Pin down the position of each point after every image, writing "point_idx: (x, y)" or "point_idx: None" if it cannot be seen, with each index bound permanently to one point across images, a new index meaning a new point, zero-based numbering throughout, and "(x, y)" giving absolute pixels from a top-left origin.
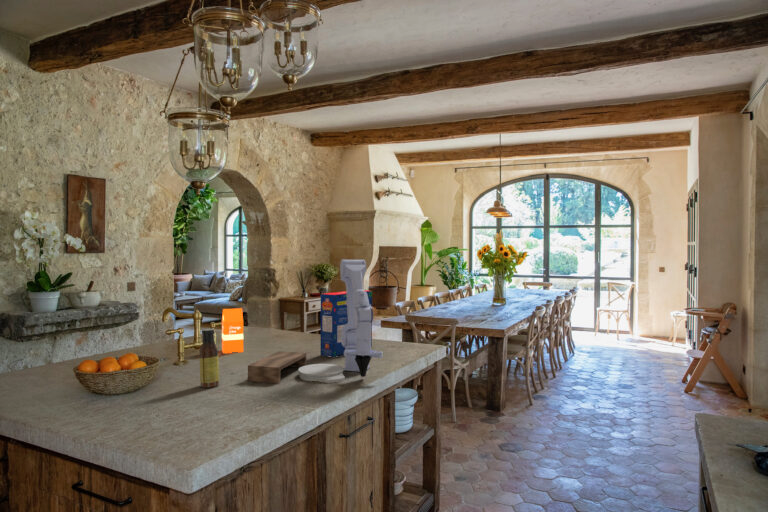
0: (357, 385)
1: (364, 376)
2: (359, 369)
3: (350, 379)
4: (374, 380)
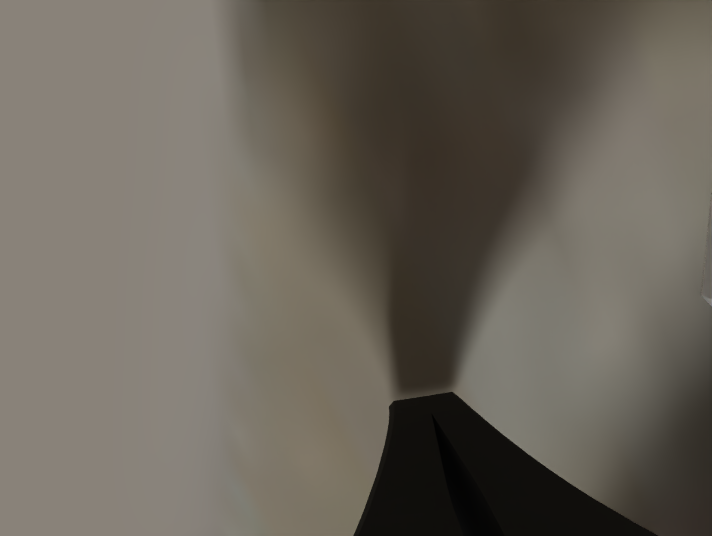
0: (352, 15)
1: (389, 413)
2: (530, 457)
3: (609, 327)
4: (229, 420)
